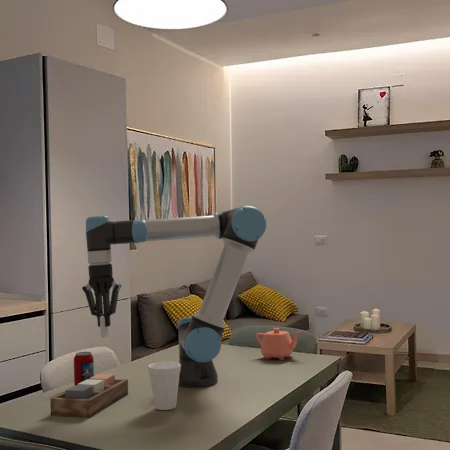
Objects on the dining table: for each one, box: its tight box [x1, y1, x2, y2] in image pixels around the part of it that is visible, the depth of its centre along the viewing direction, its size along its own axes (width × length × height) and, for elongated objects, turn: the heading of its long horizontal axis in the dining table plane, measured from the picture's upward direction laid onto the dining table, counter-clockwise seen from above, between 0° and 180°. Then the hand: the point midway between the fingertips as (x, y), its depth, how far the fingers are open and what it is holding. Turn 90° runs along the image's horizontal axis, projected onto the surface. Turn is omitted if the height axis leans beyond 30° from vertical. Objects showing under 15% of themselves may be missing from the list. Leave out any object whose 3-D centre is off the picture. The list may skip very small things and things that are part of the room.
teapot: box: [255, 327, 302, 361], centre depth 255 cm, size 13×20×12 cm, turn 65°
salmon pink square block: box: [89, 373, 116, 386], centre depth 201 cm, size 6×6×4 cm
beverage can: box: [73, 351, 95, 386], centre depth 215 cm, size 7×7×12 cm
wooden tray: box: [49, 378, 129, 419], centre depth 193 cm, size 13×26×5 cm, turn 164°
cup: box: [147, 361, 181, 411], centre depth 187 cm, size 10×10×13 cm
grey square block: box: [64, 384, 93, 399], centre depth 186 cm, size 6×6×4 cm
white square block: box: [78, 379, 104, 392], centre depth 193 cm, size 6×6×4 cm
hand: (104, 336), depth 199 cm, fingers closed
